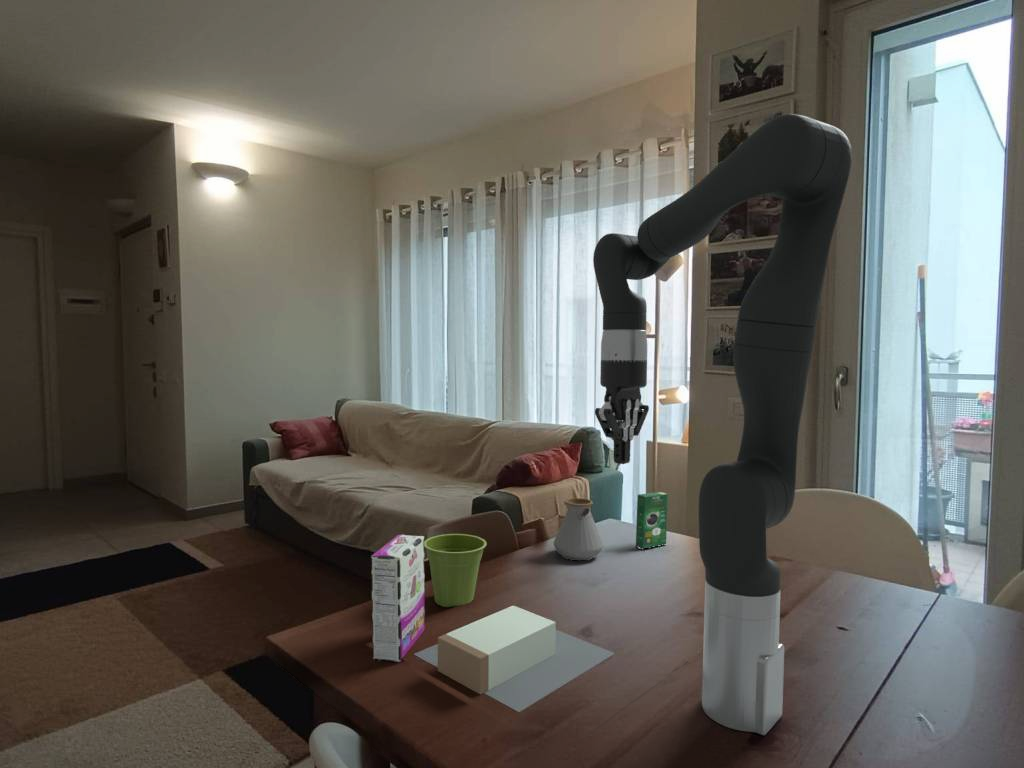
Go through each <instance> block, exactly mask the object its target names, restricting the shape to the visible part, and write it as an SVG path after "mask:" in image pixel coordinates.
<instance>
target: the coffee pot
mask: <svg viewBox="0 0 1024 768" xmlns="http://www.w3.org/2000/svg"><path fill="white" fill-rule="evenodd" d="M563 504H564V505H565V507H566V509H567V511H566V513H565V516H564V518H563V520H562V522H561V525H560V526H559V528H558V531H557V534H556V535H555V538H554V541H553V547H554V549H555V550H556V552H557V553H558V554H560V555H562V556H561V557H562V558H563V557H564V558H563V559H565V558H566V560H568V559H570V560H569V561H572V560H588V561H590V560H589V559H591V558H593V557H594V556H595V557H596V556H598V555H599V554H600V553H601V552H602V550H603V548H604V542H603V540H602V538H601V535H600V533H599V530H598V528H597V525H596V522H595V520H594V517H593V514H594V513H593V511H592V510H591V506H592V505H593V504H594V501H593V500H592V499H588V498H583V497H582V498H580V497H578V498H577V497H576V498H575V497H573V498H568V499H566V500H564V501H563Z"/></svg>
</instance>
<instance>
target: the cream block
mask: <svg viewBox="0 0 1024 768" xmlns="http://www.w3.org/2000/svg"><path fill="white" fill-rule="evenodd" d="M556 627H557V623H556V621H554V620H552V619H548V618H546V617H543V616H541V615H538V614H536V613H534V612H531V611H528V610H526V609H523V608H520V607H519V606H516V605H511V606H508V607H506V608H504V609H501V610H499V611H497V612H495V613H492V614H490V615H488V616H485V617H483V618H480V619H478V620H476V621H473V622H471V623H469V624H466V625H464V626H462V627H459V628H457V629H454V630H452V631H450V632H447V633H445V634H442V635H440V636H437V644H438V668H437V672H439V673H441V674H442V675H444V676H446V677H448V678H450V679H451V680H454V681H455V682H457V683H459V684H461V685H462V686H464V687H465V688H468V689H470V690H471V691H473V692H475V693H476V694H479V695H480V696H481V695H483V694H484V693H485V692H486V691H488V690H490V689H492V688H494V687H496V686H497V685H499V684H501V683H503V682H505V681H507V680H508V679H510V678H512V677H514V676H516V675H518V674H519V673H521V672H523V671H525V670H527V669H529V668H530V667H532V666H534V665H536V664H538V663H540V662H541V661H543V660H545V659H547V658H549V657H551V656H552V655H554V654H555V645H556V630H557V629H556Z"/></svg>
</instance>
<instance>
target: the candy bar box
mask: <svg viewBox="0 0 1024 768" xmlns="http://www.w3.org/2000/svg"><path fill="white" fill-rule="evenodd" d="M424 541H425V535H424V536H423V535H413V534H408V535H407V534H398V535H396V536H395V537H394V538H392V539H391V540H389V542H387V543H385V544H384V546H382V547H381V548H380V549H379V550H377V551H375V552H374V553H373V554H372V555H370V561H371V563H370V566H371V605H372V606H371V607H372V608H371V609H372V610H371V611H372V612H371V617H372V622H371V623H372V659H373V660H375V659H378V660H377V661H381V660H385V661H384V662H392V663H393V662H394V663H401V662H403V660H404V659H403V658H404V656H405V655H406V654H407V653H408V651H409V650H410V649H411V648H412V646H413V645H414V644H415V642H416V641H418V639H419V638H420V636H421V634H422V633H423V632H424V631H425V629H426V605H425V603H426V601H425V600H426V599H425V594H426V593H425V592H426V591H425V547H424Z"/></svg>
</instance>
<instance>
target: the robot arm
mask: <svg viewBox="0 0 1024 768" xmlns="http://www.w3.org/2000/svg"><path fill="white" fill-rule="evenodd" d="M852 154H853V153H852V146H851V142H850V140H849V138H848V136H847V135H846V133H844V131H842V130H841V129H840V128H838V127H836V126H834V125H831V124H828V123H827V122H823V121H820V120H816V119H814V118H811V117H808V116H806V115H801V114H796V113H785V114H780V115H778V116H775V117H773V118H772V119H770V120H768V121H766V122H765V123H764V124H762V125H761V126H760V127H758V128H757V129H756V130H755V131H754V132H752V134H751V135H749V136H748V137H746V139H745V140H744V141H743V142H741V144H739V145H738V146H737V147H736V148H735V149H734V150H732V152H731V153H730V154H729V155H728V156H726V157H725V158H724V159H723V160H722V161H721V162H720V163H718V164H717V165H716V166H715V167H714V168H713V169H712V170H711V171H710V172H709V173H708V174H706V175H705V176H704V177H703V178H702V179H701V180H700V181H699V182H697V184H695V185H694V186H693V187H692V188H691V189H689V190H688V191H687V192H685V193H684V194H682V195H680V196H679V197H678V198H676V199H675V200H673V201H672V202H670V203H669V204H666V206H664V207H662V208H660V209H659V210H657V211H656V212H655V213H652V214H651V215H650V216H649V217H648V216H647V218H646V219H645V220H644V221H642V223H641V224H640V225H639V228H638V229H637V234H636V235H628V234H623V233H622V234H621V233H615V232H614V233H613V232H612V233H607V234H604V235H603V236H602V237H601V238H600V239H599V240H598V242H597V243H596V246H595V248H594V251H593V257H592V258H593V259H592V261H593V262H592V263H593V269H594V274H595V275H594V276H595V278H596V281H597V283H596V284H597V286H598V291H599V294H600V299H601V302H602V306H603V307H602V309H603V311H602V336H601V342H600V373H599V374H600V377H599V378H600V386H602V387H603V388H605V395H604V399H603V401H604V403H603V405H602V406H601V407H596V408H595V409H594V415H595V416H596V419H597V421H598V422H599V425H600V428H601V429H602V432H603V434H604V436H605V437H606V438H610V439H611V440H612V441H613V462H614V463H615V464H620V465H624V464H625V465H626V464H629V463H630V461H631V442H632V441H633V440H634V436H636V437H637V436H639V434H640V432H641V430H642V427H643V425H644V422H645V420H646V418H647V415H648V413H649V409H650V407H649V405H647V404H643V402H642V394H641V390H640V389H642V388H643V389H644V388H645V387H646V386H647V384H648V382H647V381H648V338H647V301H646V298H645V297H644V296H643V295H641V294H639V293H636V292H634V291H632V290H631V289H630V286H629V282H628V280H630V281H641V280H644V279H647V278H649V277H652V276H654V275H655V274H656V273H657V272H658V271H659V270H660V269H661V268H662V267H663V266H665V264H666V263H668V262H669V260H670V259H671V258H672V257H675V256H677V255H679V254H681V253H683V252H685V251H687V250H689V249H691V248H692V247H694V246H696V245H697V244H699V243H700V242H702V241H703V240H704V239H705V238H707V236H709V235H710V234H711V233H712V231H713V230H714V229H715V228H716V226H717V225H718V223H719V221H720V220H721V219H722V217H723V216H724V215H725V214H726V213H727V212H729V211H730V210H731V209H732V208H734V207H736V206H738V205H740V204H742V203H744V202H749V201H750V200H753V199H756V198H759V197H761V196H766V195H767V196H770V197H774V198H777V199H778V198H779V199H782V204H781V205H782V206H781V215H780V220H779V221H780V222H779V225H778V231H777V232H778V233H777V236H776V239H775V244H774V245H773V248H772V249H771V252H770V254H769V256H768V258H767V260H766V261H765V263H764V265H763V266H762V267H761V269H760V270H759V272H757V275H756V276H755V277H754V279H753V281H752V282H751V284H750V286H749V288H748V289H747V291H746V293H745V294H744V297H743V299H742V301H741V302H740V303H741V304H740V307H739V310H738V315H737V320H736V329H735V335H734V341H733V342H734V343H733V351H732V362H733V368H734V375H735V378H736V383H737V387H738V391H739V395H740V397H741V403H742V408H743V409H742V410H743V427H742V428H743V430H742V434H741V435H742V436H741V441H740V442H741V443H740V446H739V452H738V455H737V457H736V460H735V461H731V462H727V463H722V464H718V465H716V466H715V467H712V468H711V469H710V470H709V471H708V472H707V473H706V474H705V476H704V477H703V479H702V481H701V484H700V489H699V494H698V539H699V540H698V541H699V543H698V544H699V545H698V546H699V554H700V558H701V561H702V563H703V566H704V572H705V573H704V574H705V578H704V580H705V581H704V583H705V584H704V606H703V608H704V609H703V611H704V613H703V614H704V616H703V617H704V618H703V620H704V621H703V651H702V652H703V653H702V657H703V658H702V686H701V694H702V695H701V707H702V709H703V712H704V713H705V714H706V715H707V716H708V717H709V718H710V719H712V720H713V721H714V722H716V723H717V724H719V725H722V726H723V727H726V728H729V729H731V730H732V729H733V730H737V731H741V732H752V733H757V734H759V735H761V736H766V735H767V733H769V731H770V730H771V729H772V728H773V727H774V725H775V724H776V723H778V721H779V720H780V719H781V718H782V716H783V705H784V704H783V702H784V701H783V700H784V699H783V698H784V671H785V668H784V667H785V645H784V644H783V643H780V642H779V640H780V616H781V615H780V613H781V611H780V610H781V588H782V587H781V586H782V575H781V574H782V571H781V568H780V566H779V565H778V564H777V562H776V561H774V560H772V559H771V558H769V557H768V556H767V555H768V554H767V530H768V529H770V528H773V527H775V526H777V525H779V524H781V523H782V522H783V521H784V520H785V519H786V518H787V517H788V515H790V512H791V510H792V509H793V507H794V506H793V505H794V500H795V497H796V496H795V495H796V482H797V480H796V479H797V462H798V461H797V459H798V441H799V430H800V424H801V423H800V422H801V416H802V413H803V407H804V401H805V398H806V397H805V396H806V389H807V382H808V377H809V372H810V368H811V367H810V366H811V361H812V357H813V353H814V352H813V350H814V346H815V345H814V344H815V338H816V333H817V326H818V320H819V311H820V304H821V298H822V292H823V287H824V281H825V276H826V271H827V265H828V260H829V253H830V249H831V245H832V244H831V243H832V240H833V236H834V232H835V228H836V225H837V220H838V217H839V214H840V210H841V208H842V207H841V206H842V203H843V199H844V196H845V192H846V189H847V185H848V182H849V178H850V172H851V167H852V158H853V155H852Z"/></svg>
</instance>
